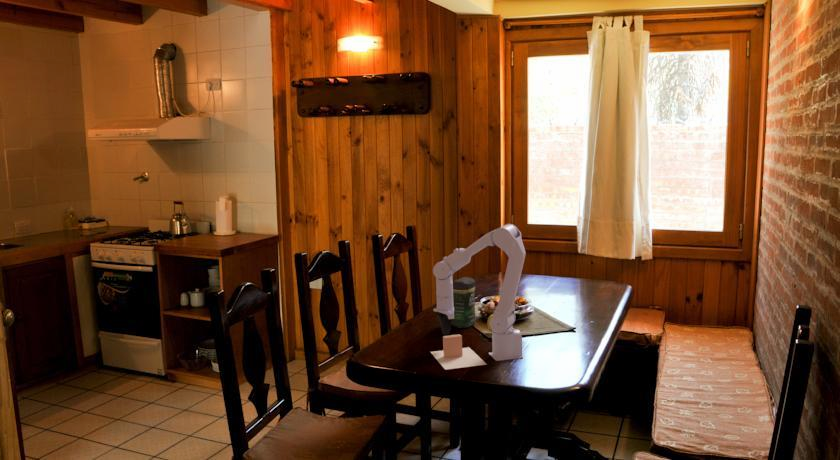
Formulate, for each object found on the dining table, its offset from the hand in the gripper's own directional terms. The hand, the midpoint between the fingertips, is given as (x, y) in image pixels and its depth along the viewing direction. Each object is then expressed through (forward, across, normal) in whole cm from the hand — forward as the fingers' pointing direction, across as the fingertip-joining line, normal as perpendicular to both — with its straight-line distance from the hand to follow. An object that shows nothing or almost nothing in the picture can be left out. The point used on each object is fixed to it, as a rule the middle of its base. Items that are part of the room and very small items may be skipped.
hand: (446, 333), depth 231 cm
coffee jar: (+6, -26, +15) cm, 31 cm away
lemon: (+6, -11, +22) cm, 26 cm away
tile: (+6, +8, 0) cm, 9 cm away
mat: (+6, +10, +1) cm, 11 cm away
